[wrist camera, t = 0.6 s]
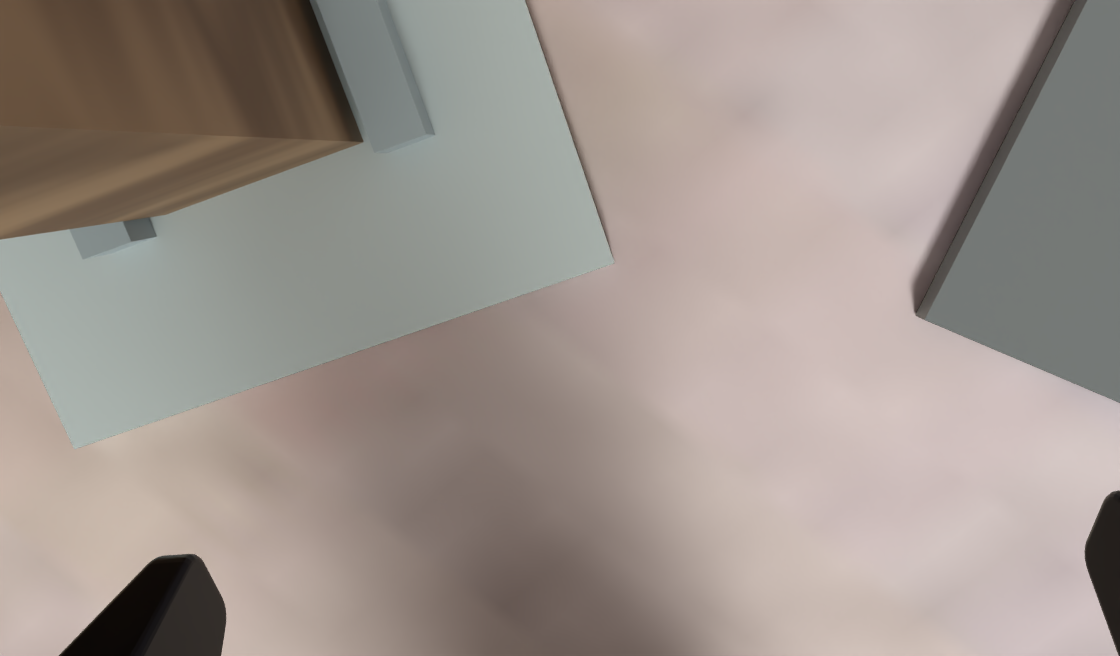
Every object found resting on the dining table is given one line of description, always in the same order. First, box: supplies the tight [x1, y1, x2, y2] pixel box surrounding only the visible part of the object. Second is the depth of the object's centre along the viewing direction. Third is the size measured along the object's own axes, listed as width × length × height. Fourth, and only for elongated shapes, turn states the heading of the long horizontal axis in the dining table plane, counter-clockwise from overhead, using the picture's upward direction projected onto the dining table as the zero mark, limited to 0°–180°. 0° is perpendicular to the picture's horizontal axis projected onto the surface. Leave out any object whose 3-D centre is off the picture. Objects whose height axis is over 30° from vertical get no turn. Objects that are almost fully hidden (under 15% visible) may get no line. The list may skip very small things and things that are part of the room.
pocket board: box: [0, 0, 614, 449], centre depth 20 cm, size 14×14×2 cm
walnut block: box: [0, 0, 364, 240], centre depth 13 cm, size 5×5×14 cm
